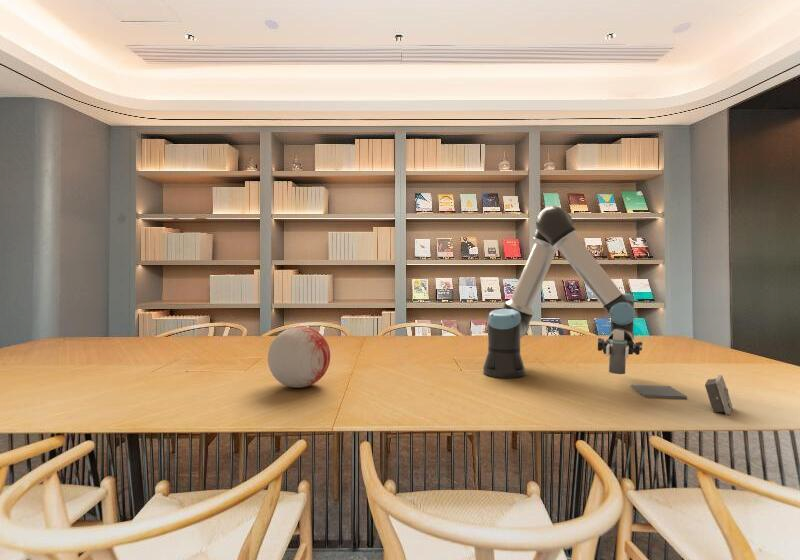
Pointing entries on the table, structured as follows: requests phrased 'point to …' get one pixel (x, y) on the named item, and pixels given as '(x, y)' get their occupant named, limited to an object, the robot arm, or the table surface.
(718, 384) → the electrical switch
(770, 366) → the table surface
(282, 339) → the decorative orb
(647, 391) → the pad
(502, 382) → the table surface
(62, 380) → the table surface
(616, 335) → the trash can
